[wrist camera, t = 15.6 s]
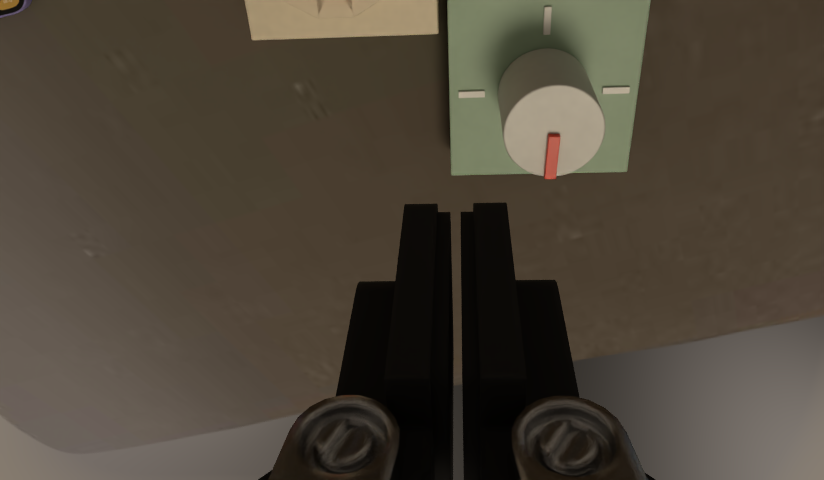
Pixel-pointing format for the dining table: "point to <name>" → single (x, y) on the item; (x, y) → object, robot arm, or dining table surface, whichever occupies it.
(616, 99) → the dial panel
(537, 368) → the robot arm
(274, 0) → the housing
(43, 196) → the dining table surface
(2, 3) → the smartphone
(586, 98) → the timer dial
